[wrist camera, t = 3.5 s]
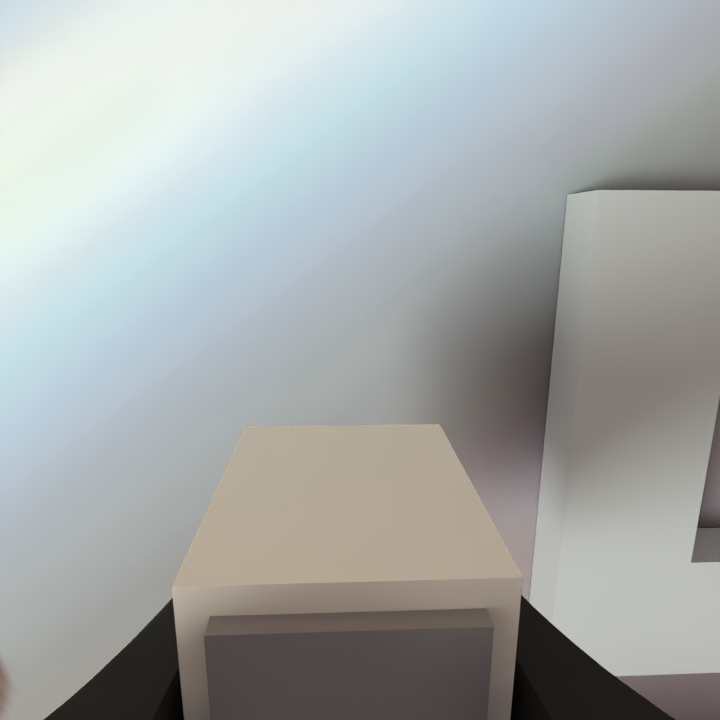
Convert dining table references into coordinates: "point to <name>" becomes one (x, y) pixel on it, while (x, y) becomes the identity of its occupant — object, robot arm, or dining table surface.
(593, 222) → the socket plate
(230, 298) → the dining table surface
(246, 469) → the plug block
